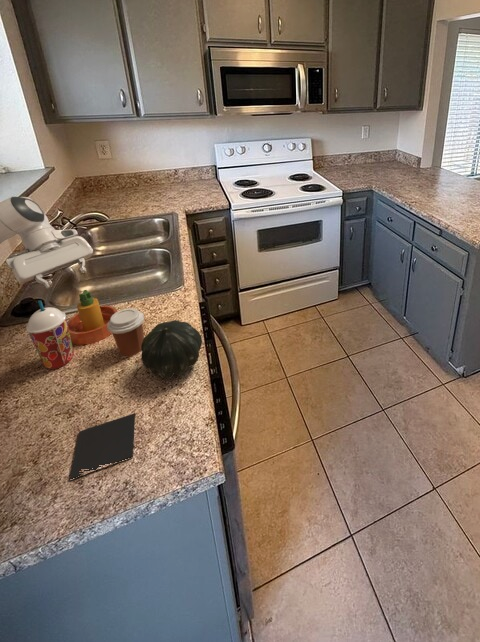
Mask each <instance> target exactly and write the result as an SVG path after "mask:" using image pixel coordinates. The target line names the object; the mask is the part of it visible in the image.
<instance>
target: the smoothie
mask: <svg viewBox="0 0 480 642" xmlns="http://www.w3.org/2000/svg"><path fill="white" fill-rule="evenodd" d="M37 303H38V306H39V309H38V310H36V311H35V312H33V314H32V315H30V317H29V319H28V322H27V324H26V326H25V329H26V331H27V333H28V335H29V337H30V339H31V341H32V344H33V345H34V347H35V350H36V352H37V353H38V356H39V358H40V360H41V362H42V364H43V367H44V368H47V369H49V370H56V369H59V368H63V367H65V366H66V365H67V364H69V363H70V362H71V361H72V359H73V357H74V354H75V352H74V348H73V343H72V342H71V338H70V333H69V328H68V324H67V322H68V319H67V314H66V313H65V312H64V311H62V310H61V309H58V308H57V307H53V306H52V307H51V306H48V307H47V306H46V307H44V305H43V302H42V300H38V302H37Z"/></svg>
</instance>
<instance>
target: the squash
mask: <svg viewBox="0 0 480 642" xmlns="http://www.w3.org/2000/svg"><path fill="white" fill-rule="evenodd" d="M202 345H203V339H202V335H201V333H200V332H199V330H197V329H196V328H195V327H194V326H192V325H191V324H190V323H189V322H186V321H180V320H177V319H174V320H170V321H163V322H159V323H158V324H157V325H155V326H154V327H153V328H152V330H151V331H150V332H148V333H147V334H146V335H144V340H143V342H142V345H141V350H142V351H141V362H142V364H143V366H144V367H145V369H148V370H149V372H150V373H151V374H153V375H159V376H161V378H162V379H165V380H169V379H170V378H172V377H173V376H174V375H175V376H182V375H183V374H185V372H186V371H187V369H188V368H189V367H190V368H191V367H192V366H194V365H195V364H196V363H197V362H198V360H199V358H200V350H201V347H202Z"/></svg>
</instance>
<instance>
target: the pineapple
mask: <svg viewBox="0 0 480 642" xmlns="http://www.w3.org/2000/svg"><path fill="white" fill-rule="evenodd" d="M78 298H79V302H78V304H77V305H76V309H77V313H79V316H80V319H81V322H82V326H83V329H84V332H87V331H91V330H94V329H97V328H99V327H101V326H103V325H105V324H104V321H103V317H102V313H101V309H100V306H101V305H100V302H99V299H97V298H96V297H93V295H92V292H91V291H88V289H83V291H82V292H81V293H79V294H78Z"/></svg>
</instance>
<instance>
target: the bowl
mask: <svg viewBox="0 0 480 642" xmlns="http://www.w3.org/2000/svg"><path fill="white" fill-rule="evenodd" d="M99 306H100V309H101V313H102V317H103V321H104V324H105V325H103V326H101V327H99V328H97V329H94V330H91V331H87V332H84V329H83V326H82V322H81V319H80V316H79V312H76V314H74V315H73V316H71V317H70V318H69V319H68V320H67V324H68V328H69V333H70V338H71V342H72V345H73V344H74V345H80V346H81V345H91V344H94V343H97V342H99V341H102V340H104V339H106V338H108V337H109V336H111V335H113V334H112V333H111V332H109V331H108V329H107V324H108V322H109V321H110V318H111V317H112V315H113V314H115V313H116V312H118V310H117V308H116V307H113V306H111V305H107V304H106V305H99Z"/></svg>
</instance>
